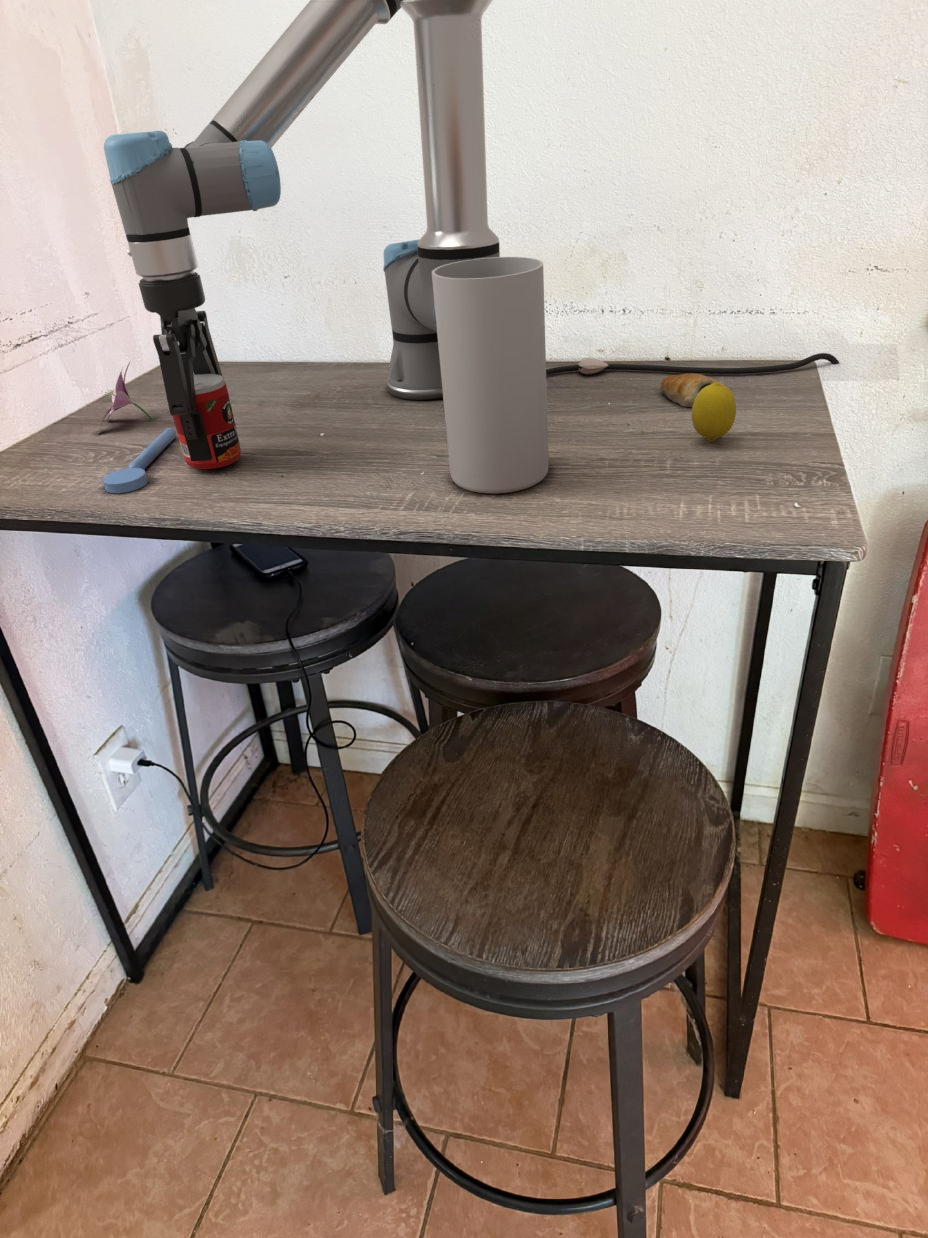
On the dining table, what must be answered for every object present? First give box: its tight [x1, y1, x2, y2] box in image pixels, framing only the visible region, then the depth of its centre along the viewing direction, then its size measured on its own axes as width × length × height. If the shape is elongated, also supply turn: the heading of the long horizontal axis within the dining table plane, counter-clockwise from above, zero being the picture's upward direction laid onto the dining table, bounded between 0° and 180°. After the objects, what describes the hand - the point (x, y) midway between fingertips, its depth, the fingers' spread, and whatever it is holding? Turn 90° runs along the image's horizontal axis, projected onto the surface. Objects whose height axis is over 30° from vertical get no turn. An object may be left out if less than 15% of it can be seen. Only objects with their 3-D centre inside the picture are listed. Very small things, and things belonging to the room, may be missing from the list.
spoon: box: [102, 427, 177, 494], centre depth 121 cm, size 21×6×2 cm, turn 177°
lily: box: [98, 360, 154, 432], centre depth 136 cm, size 12×12×10 cm
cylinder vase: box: [432, 256, 550, 495], centre depth 101 cm, size 12×12×25 cm
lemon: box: [691, 381, 737, 443], centre depth 110 cm, size 6×6×8 cm
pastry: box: [659, 373, 718, 408], centre depth 127 cm, size 9×7×4 cm
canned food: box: [172, 374, 242, 470], centre depth 115 cm, size 8×8×11 cm
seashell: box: [578, 357, 609, 376], centre depth 141 cm, size 4×5×2 cm
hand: (211, 448), depth 117 cm, fingers closed on canned food, 8 cm apart
